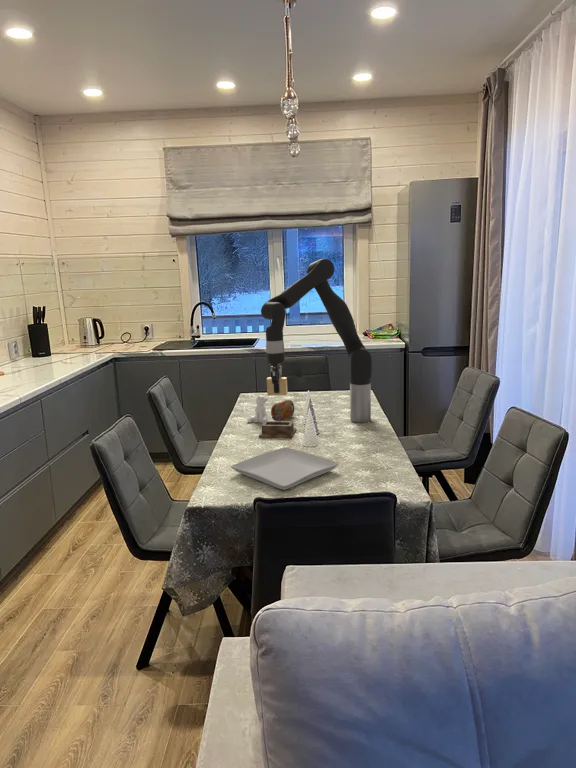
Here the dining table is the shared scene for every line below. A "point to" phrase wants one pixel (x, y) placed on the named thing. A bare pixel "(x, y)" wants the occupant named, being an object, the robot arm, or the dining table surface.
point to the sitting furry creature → (259, 411)
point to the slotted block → (277, 429)
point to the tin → (282, 410)
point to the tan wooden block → (281, 386)
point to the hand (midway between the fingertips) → (277, 391)
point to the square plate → (285, 467)
